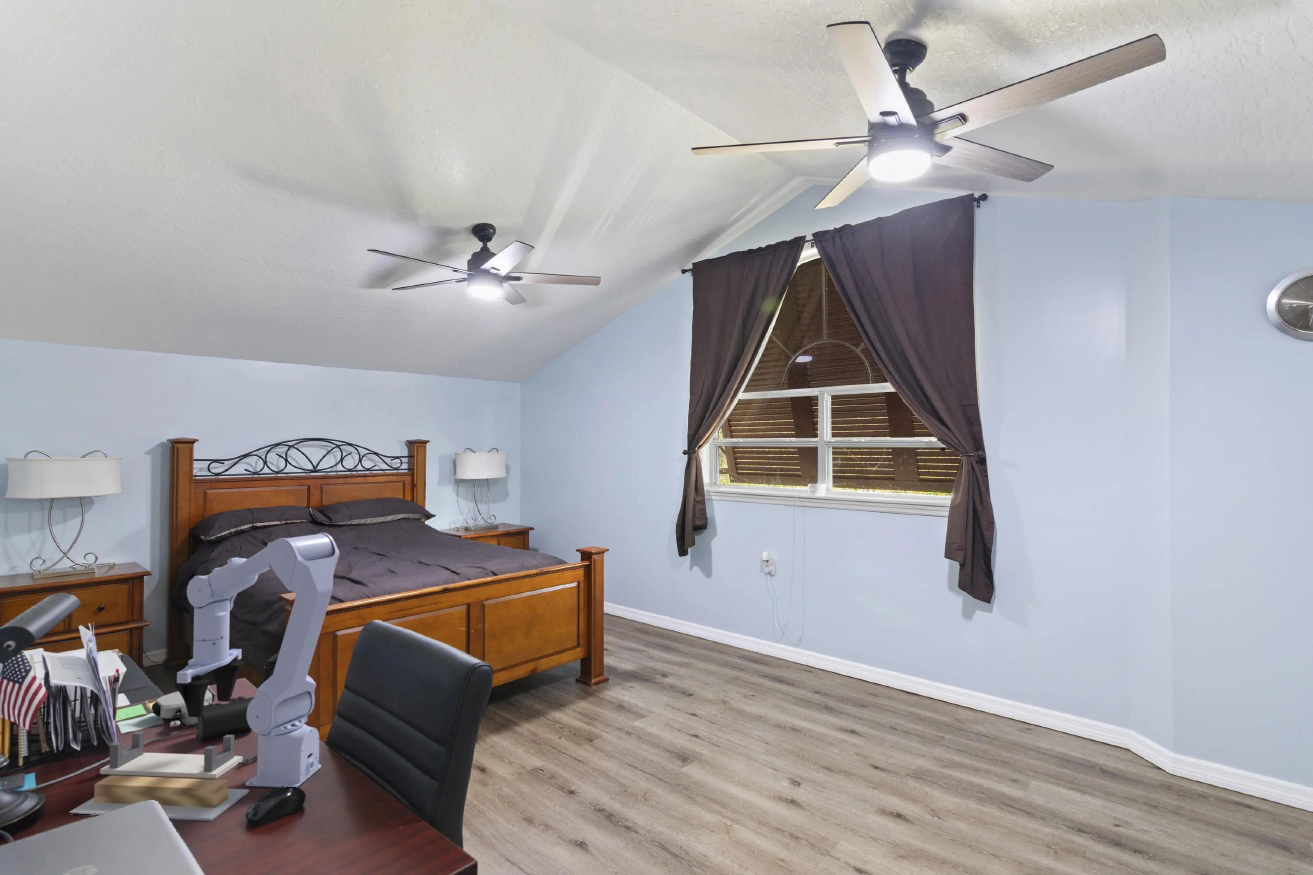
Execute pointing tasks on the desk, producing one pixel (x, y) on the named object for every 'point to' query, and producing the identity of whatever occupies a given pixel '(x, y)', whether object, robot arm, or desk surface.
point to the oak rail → (161, 791)
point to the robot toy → (177, 708)
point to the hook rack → (170, 761)
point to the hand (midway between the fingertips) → (210, 708)
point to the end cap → (223, 720)
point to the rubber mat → (169, 808)
